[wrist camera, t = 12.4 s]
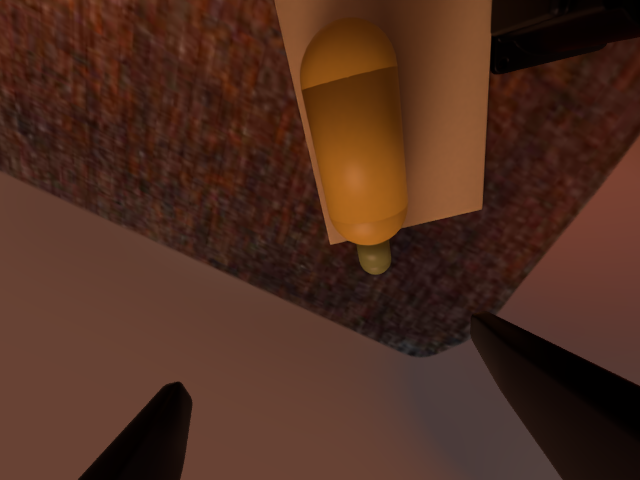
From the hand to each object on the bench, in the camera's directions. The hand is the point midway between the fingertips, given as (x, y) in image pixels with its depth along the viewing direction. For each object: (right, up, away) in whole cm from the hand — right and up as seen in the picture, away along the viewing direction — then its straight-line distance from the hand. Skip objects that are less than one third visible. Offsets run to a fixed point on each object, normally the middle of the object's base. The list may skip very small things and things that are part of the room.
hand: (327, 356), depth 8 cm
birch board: (+4, +11, +8) cm, 15 cm away
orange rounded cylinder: (+2, +8, +9) cm, 12 cm away
